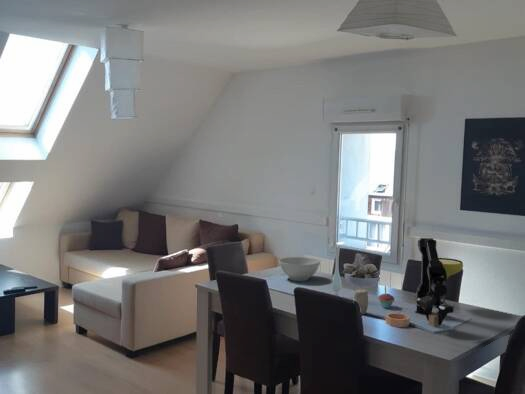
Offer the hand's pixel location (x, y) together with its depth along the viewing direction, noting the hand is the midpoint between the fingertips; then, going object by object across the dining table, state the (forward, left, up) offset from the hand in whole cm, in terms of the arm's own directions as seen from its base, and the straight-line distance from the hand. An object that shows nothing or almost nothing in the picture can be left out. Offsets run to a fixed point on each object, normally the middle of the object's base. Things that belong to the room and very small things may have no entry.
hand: (434, 322), depth 262 cm
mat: (0, 0, -3) cm, 3 cm away
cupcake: (-3, -39, -3) cm, 39 cm away
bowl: (+12, -12, -3) cm, 17 cm away
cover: (0, 0, -2) cm, 2 cm away
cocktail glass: (-33, -27, -3) cm, 43 cm away
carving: (+17, -35, -3) cm, 39 cm away
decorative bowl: (+7, -115, -3) cm, 115 cm away
